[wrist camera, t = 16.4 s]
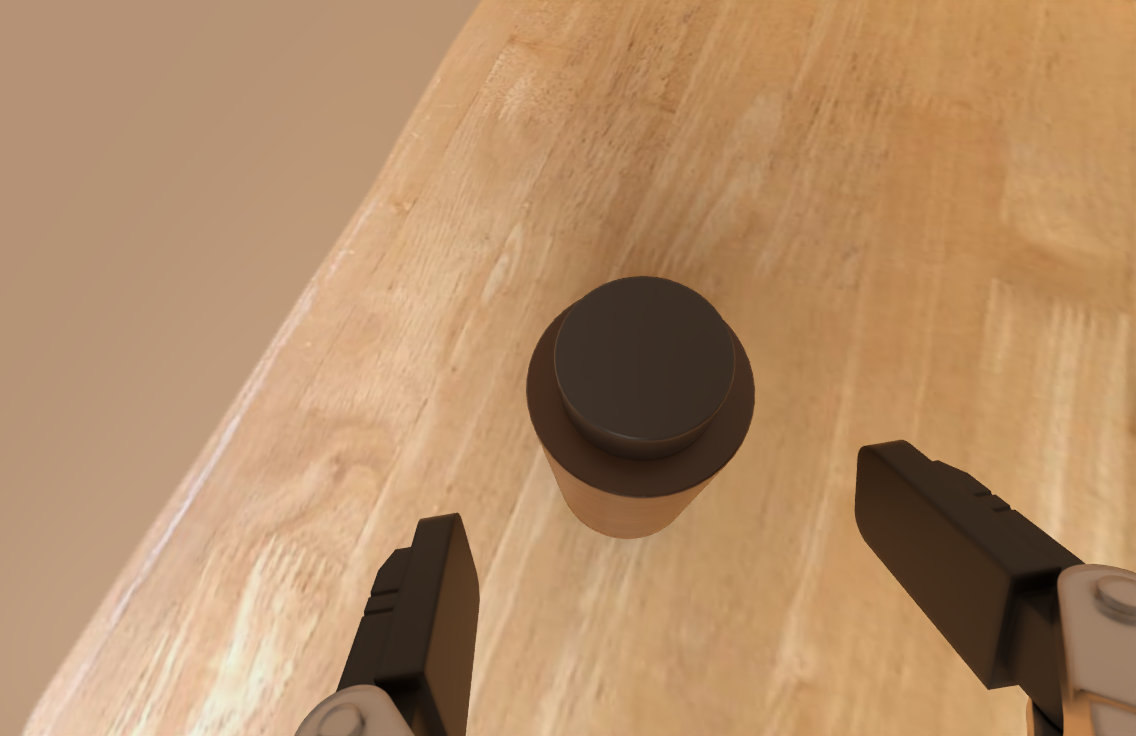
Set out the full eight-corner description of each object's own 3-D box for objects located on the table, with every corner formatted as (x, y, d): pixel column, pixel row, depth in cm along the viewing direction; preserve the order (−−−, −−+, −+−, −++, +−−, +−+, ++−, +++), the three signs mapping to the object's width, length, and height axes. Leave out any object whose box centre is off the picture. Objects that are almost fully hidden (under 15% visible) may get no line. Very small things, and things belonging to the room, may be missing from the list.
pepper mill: (608, 567, 18) (612, 540, 9) (532, 451, 20) (468, 324, 10) (721, 487, 19) (835, 383, 9) (639, 381, 20) (668, 203, 11)
